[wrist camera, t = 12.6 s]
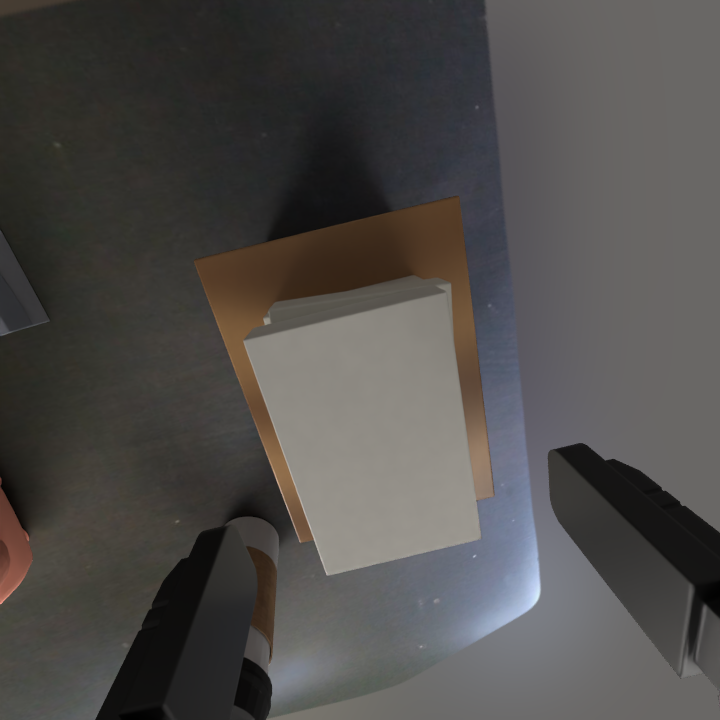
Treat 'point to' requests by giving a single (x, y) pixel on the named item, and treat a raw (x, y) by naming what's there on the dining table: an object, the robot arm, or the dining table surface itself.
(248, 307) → the shelf
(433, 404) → the white book
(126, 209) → the dining table surface
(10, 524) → the teapot
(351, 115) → the dining table surface
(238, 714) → the coffee cup
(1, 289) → the grey books
